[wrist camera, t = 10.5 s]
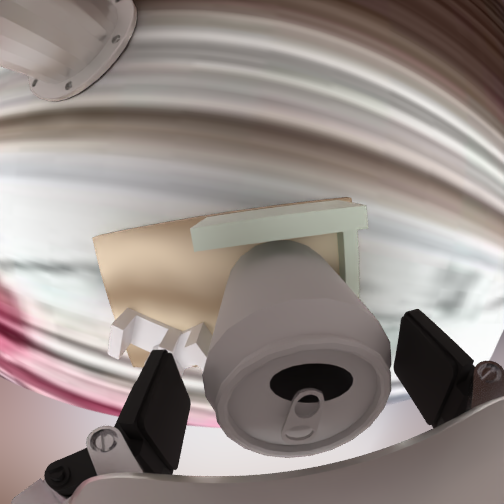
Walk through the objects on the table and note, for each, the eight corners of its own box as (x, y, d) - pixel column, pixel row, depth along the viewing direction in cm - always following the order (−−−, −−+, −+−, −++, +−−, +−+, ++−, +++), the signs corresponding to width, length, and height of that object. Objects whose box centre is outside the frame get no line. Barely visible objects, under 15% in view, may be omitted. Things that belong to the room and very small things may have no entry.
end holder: (206, 217, 18) (189, 228, 13) (347, 198, 18) (377, 204, 13) (235, 363, 21) (231, 405, 16) (351, 346, 20) (371, 383, 16)
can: (340, 245, 18) (442, 327, 7) (317, 337, 20) (362, 463, 9) (233, 229, 18) (199, 306, 7) (221, 327, 20) (193, 460, 8)
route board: (98, 235, 19) (92, 237, 18) (346, 197, 19) (351, 197, 18) (137, 360, 22) (133, 366, 21) (351, 339, 21) (354, 345, 20)
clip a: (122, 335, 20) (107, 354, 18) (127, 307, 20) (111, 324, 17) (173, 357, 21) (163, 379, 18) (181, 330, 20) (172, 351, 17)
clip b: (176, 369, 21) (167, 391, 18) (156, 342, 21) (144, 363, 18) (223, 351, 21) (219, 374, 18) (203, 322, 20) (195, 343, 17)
